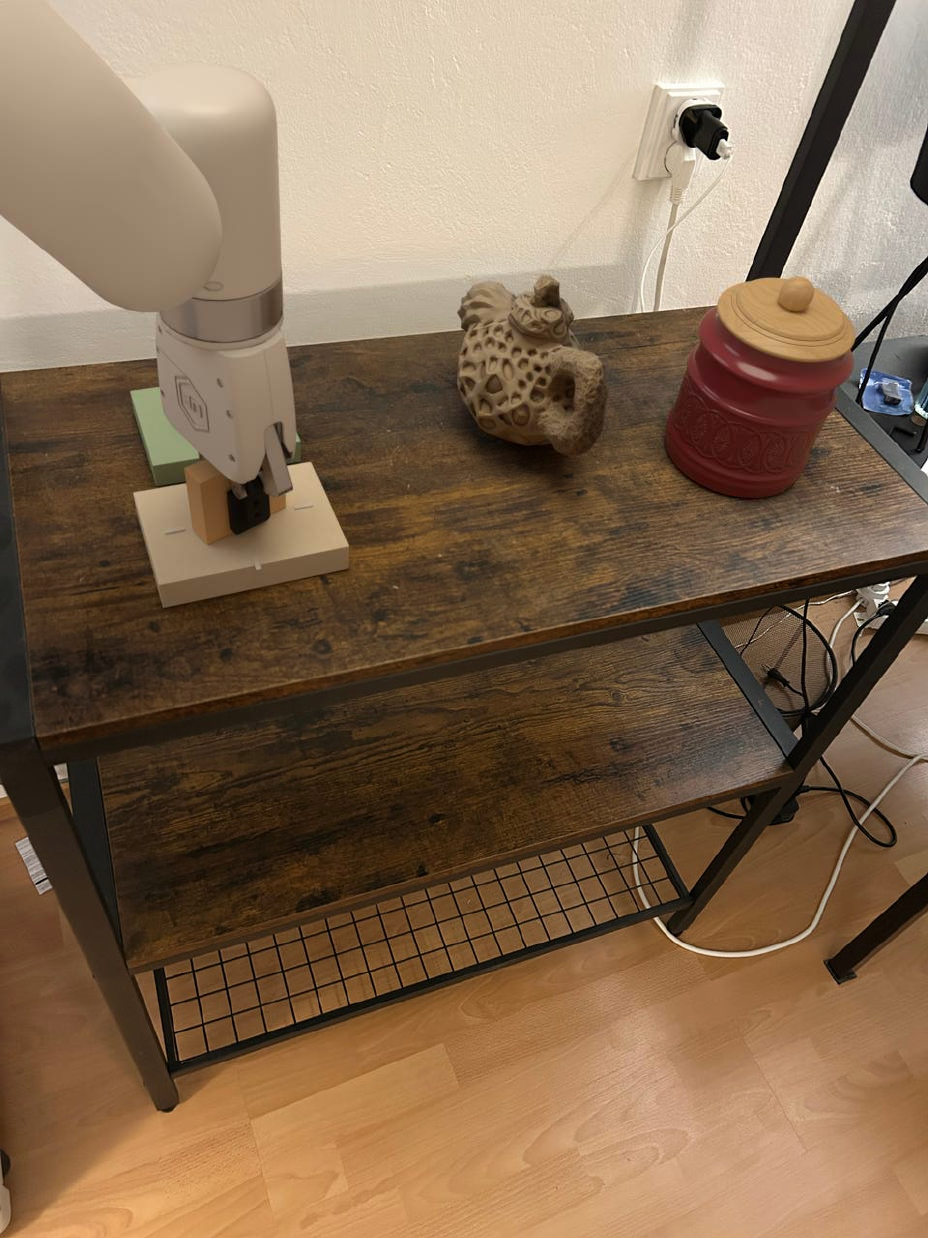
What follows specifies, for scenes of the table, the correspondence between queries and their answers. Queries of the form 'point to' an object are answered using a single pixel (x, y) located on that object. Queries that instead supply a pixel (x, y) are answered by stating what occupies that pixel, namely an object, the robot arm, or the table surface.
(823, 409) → the kitchen canister
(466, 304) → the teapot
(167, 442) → the button block
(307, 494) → the panel
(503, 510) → the table surface
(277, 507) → the handle
